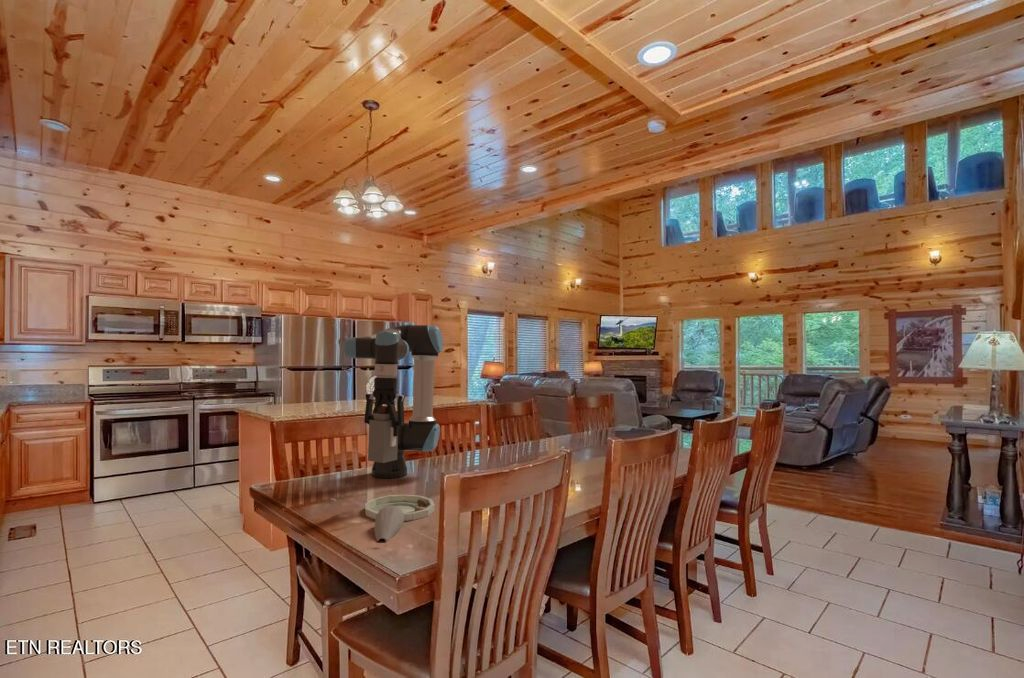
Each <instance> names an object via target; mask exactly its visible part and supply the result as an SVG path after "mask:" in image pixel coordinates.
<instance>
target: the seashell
mask: <svg viewBox="0 0 1024 678" xmlns="http://www.w3.org/2000/svg"><path fill="white" fill-rule="evenodd" d="M404 522H405V521H404V513H403V511H402V510H401V509H400V508H399V507H397V506H393V505H390V506H387V507H384V508H383V509H381V510H380V511H379V513H378V514H377V517H376V520H375V519H374V530H373V531H374V536H375V539H376V543H377V544H378V543H379V541H380V540H384V542H385V543H388V542H389V541H390V540H391V539H393V537H394V536H395V535H396V534H397V533H398V532H399V530H400V529H401V527H402V525H403V523H404Z"/></svg>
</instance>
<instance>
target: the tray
mask: <svg viewBox="0 0 1024 678" xmlns="http://www.w3.org/2000/svg"><path fill="white" fill-rule="evenodd" d="M419 499H425V500H426V507H424V509H423V510H420V511H416V512H415V508H416V507H419V506H418V505H417V503H418V500H419ZM390 505H393V506H397V507H399V508H400V509H401V510H402V511H403V513H404V521H403V522H407V521H415V520H419V519H422V518H425V517H429V516H430V515H431V514H433V512H435V511H436V509H435V508H436V506H435V505H436V504H435V502H434V501H433V499H431V498H429V497H426V496H423V495H417V494H415V495H414V494H394V495H393V494H391V495H389V494H388V495H385V496H380V497H376V498H375V497H374V498H373V499H370V500H369V501H367V502H366V503H364V513H365V514H364V515H365V516H366V517H368V518H371V519H373V520H374V521H375V520H376V517H377V514H378V513H379V511H380V510H381V509H383V508H384V507H387V506H390Z"/></svg>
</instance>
